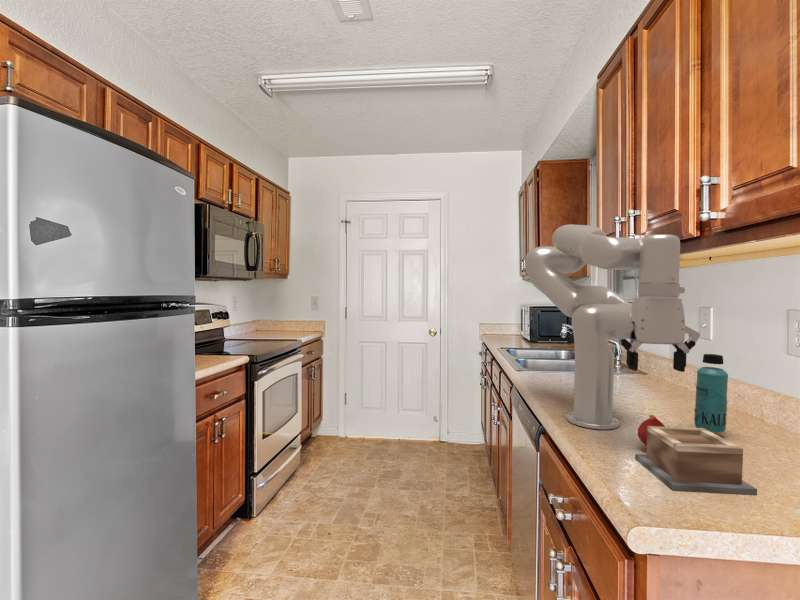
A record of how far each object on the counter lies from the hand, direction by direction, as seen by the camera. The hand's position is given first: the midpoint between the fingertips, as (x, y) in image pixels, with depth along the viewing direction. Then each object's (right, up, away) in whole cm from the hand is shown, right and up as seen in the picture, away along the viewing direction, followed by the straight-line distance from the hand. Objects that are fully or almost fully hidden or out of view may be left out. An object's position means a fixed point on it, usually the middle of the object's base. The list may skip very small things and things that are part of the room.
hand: (655, 369), depth 92 cm
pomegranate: (0, -18, +1) cm, 18 cm away
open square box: (0, -18, -11) cm, 22 cm away
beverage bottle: (+21, -18, +12) cm, 30 cm away
